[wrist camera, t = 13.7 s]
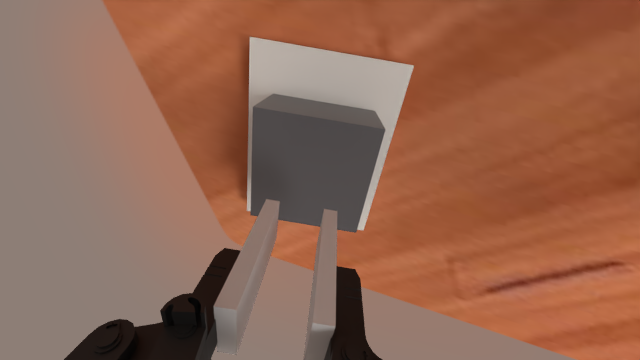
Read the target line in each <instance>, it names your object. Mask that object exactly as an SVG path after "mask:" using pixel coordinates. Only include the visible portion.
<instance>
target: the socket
mask: <svg viewBox="0 0 640 360" xmlns="http://www.w3.org/2000/svg"><path fill="white" fill-rule="evenodd" d="M413 67H414V66H413V65H408V64H403V63H397V62H392V61H386V60H380V59H375V58H369V57H363V56H358V55H352V54H346V53H341V52H335V51H329V50H324V49H318V48H312V47H307V46H301V45H295V44H290V43H284V42H278V41H272V40H267V39H261V38H255V37H250V53H249V115H248V176H247V211H251V169H252V120H253V106H255V105H256V104H258V103H259V102H261V101H262V100H264V99H266V98H267V97H269V96H270V95H272V94H279V95H285V96H291V97H297V98H302V99H308V100H314V101H320V102H326V103H332V104H338V105H344V106H349V107H355V108H361V109H367V110H373V111H375V112H376V114H377V115H378V117H379V119H380V120H381V122H382V124H383V126H384V127H385V129H386V130H385V133H384V137H383V140H382V144H381V147H380V151H379V154H378V158H377V161H376V165H375V168H374V172H373V175H372V179H371V182H370V186H369V189H368V193H367V196H366V200H365V203H364V207H363V210H362V214H361V217H360V221H359V225H358V228H357V230H364V227H365V224H366V221H367V217H368V214H369V211H370V208H371V204H372V201H373V198H374V195H375V191H376V188H377V185H378V181H379V178H380V175H381V172H382V168H383V165H384V162H385V159H386V155H387V152H388V149H389V145H390V142H391V139H392V136H393V132H394V129H395V126H396V123H397V119H398V116H399V113H400V110H401V106H402V103H403V100H404V96H405V93H406V90H407V87H408V83H409V80H410V77H411V74H412V70H413Z"/></svg>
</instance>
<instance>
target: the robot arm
mask: <svg viewBox="0 0 640 360" xmlns="http://www.w3.org/2000/svg"><path fill="white" fill-rule="evenodd" d="M279 204H280V201H275V200H269V199H266V201H265V203H264V205H263V207H262V209H261V211H260V213H259V215H258V217H257V219H256V221H255V223H254V225H253V227H252V229H251V231H250V233H249V235H248V237H247V239H246V241H245V243H244V245H243V248H242V250H241V251H239V250H233V249H226V248H224V249H223V250H222V251H220V252H219V253H218V254H217V255H215V257H214V259H213V260H212V262H211V264H210V266H209V267H208V268H207V270H206V272H205V274H204V275H203V277H202V278H201V280H200V282H199V284H198V285H197V287H196V288H195V290H194V292H193V293H189V294H182V295H179V296H177V297H175V298H173V299H171V300H170V301H169V302H167V303H166V304H165V305H164V307H163V308H162V309H161V316H162V320H163V322H161V323H157V324H152V325H146V326H139V327H134V325H133V323H131V322H130V321H128V320H122V319H118V320H114V321H110V322H107V323H106V324H103V325H101V326H100V327H98V328H97V329H96V330H94V331H93V332H92V333H90V334H89V335H88V336H87V337H86V338H85V339H84V340H83V341H82V342H81V343H80V344H79V345H78V346H77V347H76V348H75V349H74V350H73V351H72V352H71V353H70V354H69V355H68V356H67V357H66V358H65V359H64V360H211V357H212V354H213V352H214V350H215V347H216V345H217V352H223V353H229V354H235V355H237V353H238V350H239V347H240V344H241V341H242V338H243V335H244V332H245V329H246V326H247V323H248V320H249V317H250V314H251V311H252V309H253V305H254V303H255V300H256V297H257V294H258V291H259V288H260V285H261V282H262V279H263V276H264V273H265V270H266V267H267V264H268V261H269V258H270V255H271V252H272V249H273V247H274V244H275V241H276V237H277V226H278V215H279ZM336 265H337V211H334V210H328V209H324V212H323V217H322V222H321V227H320V232H319V237H318V242H317V249H316V257H315V266H314V275H313V283H312V291H311V300H310V308H309V317H308V326H307V335H306V342H305V351H304V360H382V359H380V358H379V357H378V356H377V355H376V354H374V353H373V351H372V350H371V348H370V347H369V345H368V343H367V340H366V336H365V328H364V316H363V306H362V294H361V282H360V278H359V276H358V274H357V272H356V270H355V269H350V268H344V267H338V266H336Z"/></svg>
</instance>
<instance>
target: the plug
mask: <svg viewBox="0 0 640 360" xmlns="http://www.w3.org/2000/svg"><path fill="white" fill-rule="evenodd" d="M385 130H386V129H385V127H384V126H383V124H382V122H381V120H380V119H379V117H378V115H377V114H376V112H375V111H373V110H367V109H361V108H355V107H349V106H344V105H338V104H332V103H326V102H320V101H314V100H308V99H302V98H297V97H291V96H285V95H279V94H272V95H270V96H269V97H267V98H266V99H264V100H262V101H261V102H259V103H258V104H256V105H255V106H253V120H252V169H251V215H253V216H258V215H259V213H260V211H261V209H262V207H263V205H264V203H265V201H266V199H269V200H275V201H280V204H279V215H278V220H283V221H289V222H295V223H301V224H307V225H313V226H319V227H321V222H322V217H323V212H324V209H328V210H334V211H337V229H338V230H344V231H350V232H357V228H358V225H359V221H360V217H361V214H362V210H363V207H364V203H365V200H366V196H367V193H368V189H369V186H370V182H371V179H372V175H373V172H374V168H375V165H376V161H377V158H378V154H379V151H380V147H381V144H382V140H383V137H384V133H385Z"/></svg>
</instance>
